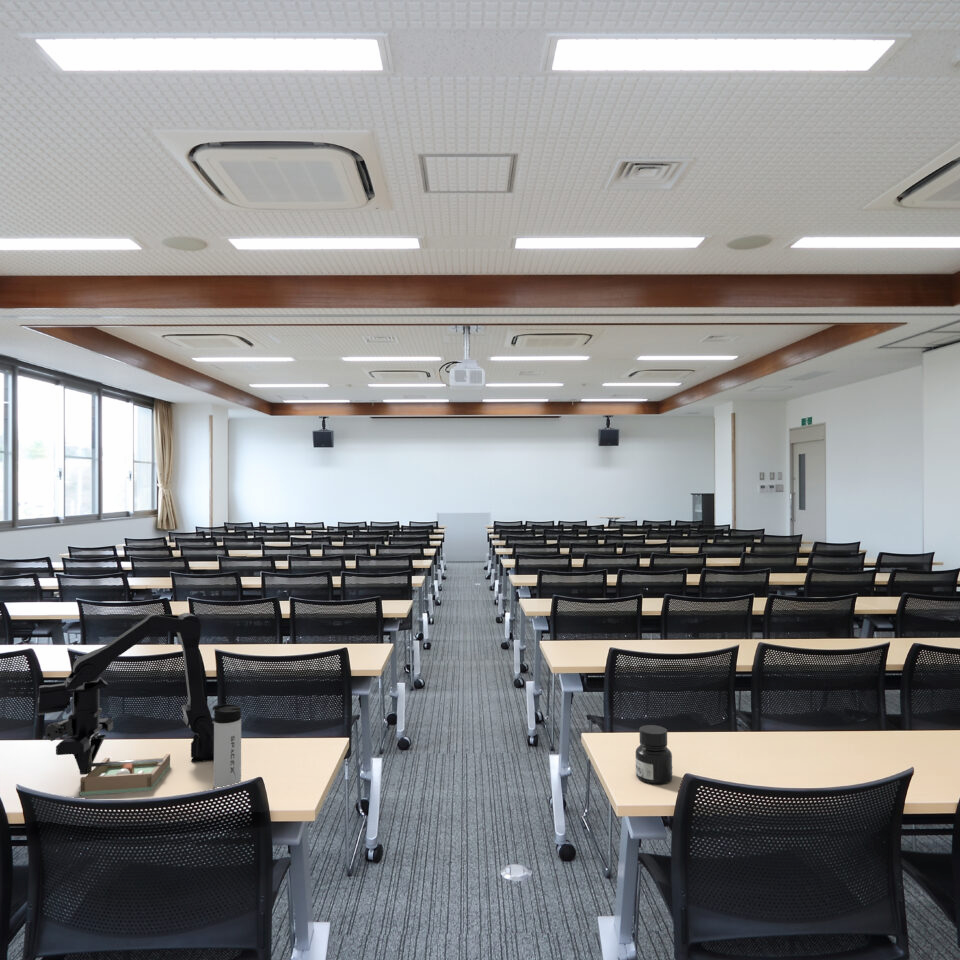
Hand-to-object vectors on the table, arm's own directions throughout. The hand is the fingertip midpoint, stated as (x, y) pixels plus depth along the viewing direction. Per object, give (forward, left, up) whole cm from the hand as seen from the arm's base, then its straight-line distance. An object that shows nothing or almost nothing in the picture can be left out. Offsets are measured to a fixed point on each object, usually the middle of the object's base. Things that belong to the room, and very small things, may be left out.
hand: (85, 770), depth 168 cm
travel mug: (-36, +10, -3) cm, 38 cm away
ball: (-10, +4, -1) cm, 11 cm away
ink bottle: (-141, +22, -3) cm, 143 cm away
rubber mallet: (-8, 0, -2) cm, 9 cm away
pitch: (-10, 0, -3) cm, 10 cm away
